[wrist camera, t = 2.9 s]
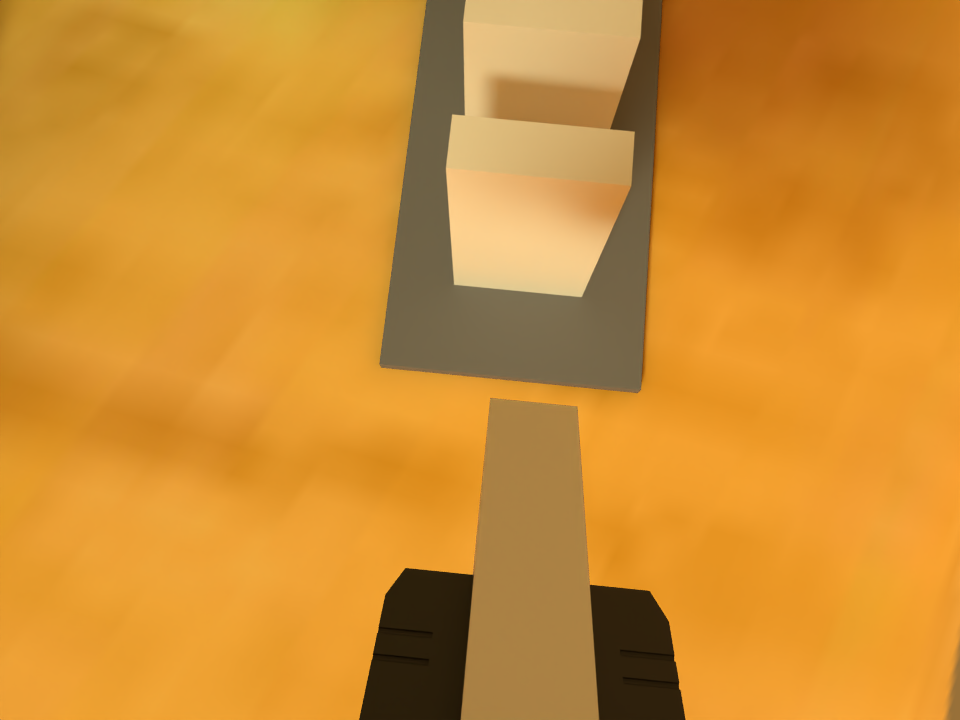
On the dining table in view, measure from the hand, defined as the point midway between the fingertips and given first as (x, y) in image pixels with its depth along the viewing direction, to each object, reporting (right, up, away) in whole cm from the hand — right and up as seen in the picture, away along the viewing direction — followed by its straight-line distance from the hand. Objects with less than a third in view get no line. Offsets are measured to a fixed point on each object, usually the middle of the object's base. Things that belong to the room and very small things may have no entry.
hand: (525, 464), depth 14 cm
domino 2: (+1, +5, +17) cm, 18 cm away
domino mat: (+1, +12, +19) cm, 23 cm away
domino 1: (+1, +10, +18) cm, 21 cm away
